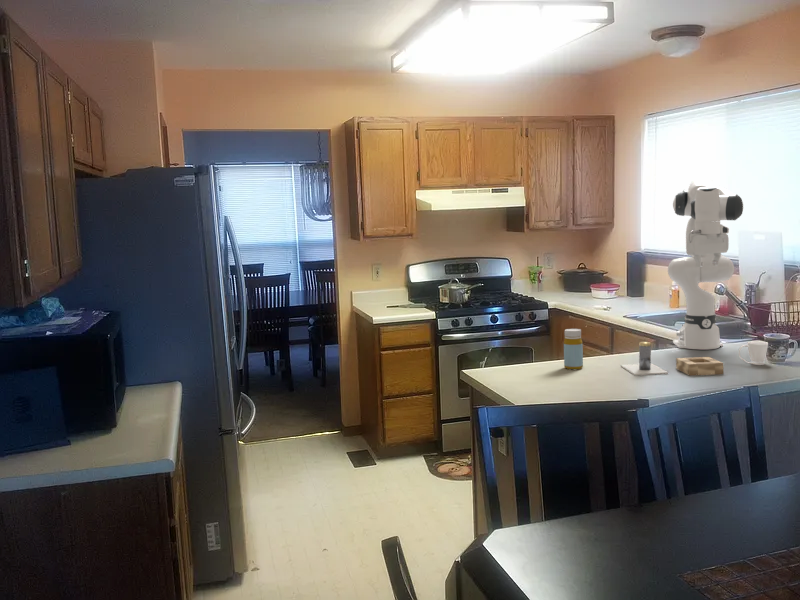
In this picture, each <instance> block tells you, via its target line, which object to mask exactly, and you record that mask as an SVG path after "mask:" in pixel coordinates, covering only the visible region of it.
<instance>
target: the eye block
mask: <svg viewBox="0 0 800 600" xmlns="http://www.w3.org/2000/svg"><path fill="white" fill-rule="evenodd" d="M675 365H676V366H675V369H676V370H678V371H679V372H682V373H684V374H686V375H688V376H690V377H691V376H710V375H711V376H712V375H713V376H714V375H716V376H717V375H724V362H722V361H719V360H717V359H715V358H712V357H710V356H700V357H699V356H696V357H694V356H693V357H692V356H691V357H677V358H676V357H675Z"/></svg>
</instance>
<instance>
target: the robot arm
mask: <svg viewBox="0 0 800 600" xmlns="http://www.w3.org/2000/svg"><path fill="white" fill-rule="evenodd" d="M672 208H673V211H674V213H675V214H676V215H677V216H681V217H685V216H689V217H690V218H689V219H688V222H687V225H686V231H685V249H686V251H685V252H686V255H688V256H687V257H686V256H684V257H678V258H673V259H672V260H671V261H670V262H669V264H668V266H667V275H668V277H669V279H671V281H673V282H674V283H675V284H677V285H678V286H679V288H680V289H681V290H682V292H683V294H684V298H685V304H686V314H685V316H684V323H683V324H682V326H681V327H680V329H678V331H676V333H675V334H676V337H678V338H677V339H674V340H672V343H673V344H674V345H675V346H676V347H677V348H678V349H690V350H716V349H719V348H720V346H721V347H723V346H724V344H723V343H722V342H721V339H720V337H721V336H720V328H719V326H717V324H716V322H717V316H716V313H715V312H716V308H715V303H716V301H715V296H714V295H713V294H712V293H711V292H709V291H707V290H705V289H702V288H701V287H700V285H699V283H719V282H724V281H729V280H730V279H731V278H732V277H733V275H734V273H735V265H734V263H733V261H732V260H731V258H729V257H727V256H725V255H723V254H724V253H727V252H728V251H729V244H730V243H729V235H728V234H729V231H730V228H729V227H727V226H725V225H723V224H721V221H737V220H738V219H739V218H740V217H741V216H742V215H743V211H744V202H743V199H742V198H741V197H740V195H738V194H737V193H733V192H732V191H730V190H729V189H727V188H725V187H721V186H720V185H719V186H718V185H716V184H715V183H714V182H713V180H711V179H710V178H708V177H705V176H701V177H696V178H694V179H693V180H692V181H691V183H690V184H689V186H688V189H687V190H686V189H683V191H681V192H678V193H677V194H676V195H675V196H674V199H673V201H672ZM722 253H723V254H722Z"/></svg>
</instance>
